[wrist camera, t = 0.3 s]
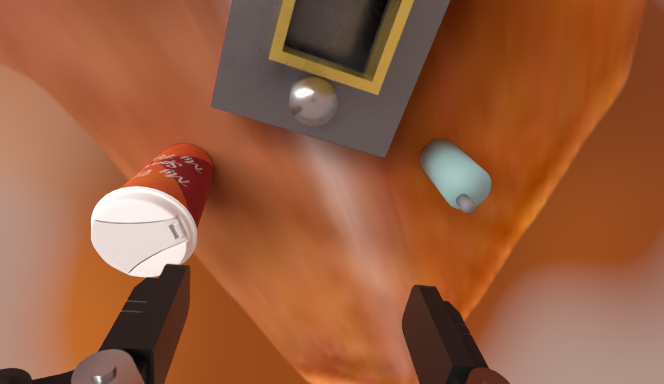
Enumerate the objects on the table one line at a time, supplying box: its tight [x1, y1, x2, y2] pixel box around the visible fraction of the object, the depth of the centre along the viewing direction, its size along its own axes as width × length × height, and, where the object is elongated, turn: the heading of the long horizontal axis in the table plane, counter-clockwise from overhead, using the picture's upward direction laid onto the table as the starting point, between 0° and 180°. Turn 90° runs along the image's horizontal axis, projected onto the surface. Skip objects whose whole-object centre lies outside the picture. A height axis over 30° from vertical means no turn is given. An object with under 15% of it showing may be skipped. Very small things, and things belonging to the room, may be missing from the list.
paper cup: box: [91, 143, 214, 277], centre depth 34 cm, size 8×8×14 cm
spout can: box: [420, 139, 491, 214], centre depth 38 cm, size 4×4×10 cm
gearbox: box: [211, 0, 450, 158], centre depth 31 cm, size 20×16×10 cm
